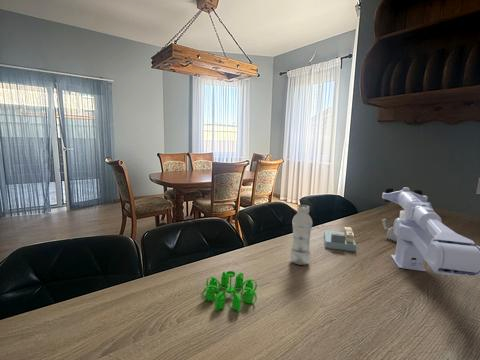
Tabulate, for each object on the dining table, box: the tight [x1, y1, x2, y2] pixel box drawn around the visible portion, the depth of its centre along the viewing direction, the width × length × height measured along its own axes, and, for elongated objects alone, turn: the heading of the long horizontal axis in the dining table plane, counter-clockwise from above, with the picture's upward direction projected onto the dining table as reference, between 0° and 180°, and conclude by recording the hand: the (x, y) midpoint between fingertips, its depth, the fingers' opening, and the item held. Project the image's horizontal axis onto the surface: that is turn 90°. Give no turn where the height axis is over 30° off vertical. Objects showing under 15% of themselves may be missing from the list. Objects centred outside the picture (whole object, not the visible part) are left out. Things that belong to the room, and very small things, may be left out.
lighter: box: [381, 218, 398, 242], centre depth 113 cm, size 7×2×8 cm, turn 31°
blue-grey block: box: [323, 229, 357, 252], centre depth 107 cm, size 13×11×6 cm
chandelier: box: [201, 270, 258, 312], centre depth 69 cm, size 15×15×7 cm
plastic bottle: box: [289, 204, 313, 266], centre depth 88 cm, size 6×7×20 cm
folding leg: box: [343, 226, 355, 243], centre depth 105 cm, size 9×2×3 cm, turn 165°
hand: (397, 191), depth 106 cm, fingers open, 7 cm apart
